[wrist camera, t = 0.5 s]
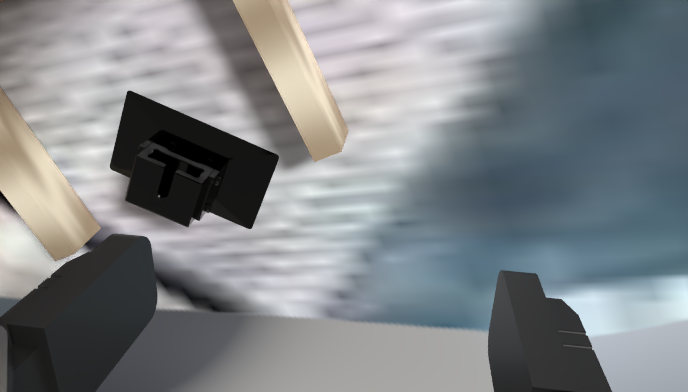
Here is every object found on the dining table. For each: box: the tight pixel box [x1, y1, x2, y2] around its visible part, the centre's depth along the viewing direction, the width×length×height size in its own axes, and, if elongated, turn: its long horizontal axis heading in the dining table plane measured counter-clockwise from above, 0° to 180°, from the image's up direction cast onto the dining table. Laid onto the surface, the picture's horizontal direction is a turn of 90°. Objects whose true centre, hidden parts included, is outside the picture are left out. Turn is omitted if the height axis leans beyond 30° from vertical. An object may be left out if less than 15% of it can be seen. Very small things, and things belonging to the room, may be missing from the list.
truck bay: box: [0, 0, 348, 261], centre depth 28 cm, size 15×19×4 cm
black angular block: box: [110, 91, 279, 229], centre depth 30 cm, size 12×7×5 cm, turn 67°
